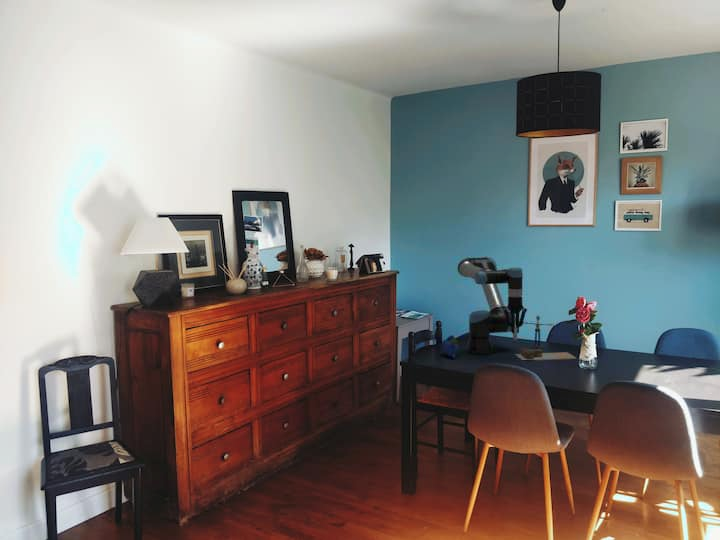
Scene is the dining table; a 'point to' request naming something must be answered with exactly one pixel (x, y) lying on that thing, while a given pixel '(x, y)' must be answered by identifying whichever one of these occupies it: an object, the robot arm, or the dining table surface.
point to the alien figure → (538, 331)
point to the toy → (450, 346)
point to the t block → (531, 353)
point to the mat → (550, 356)
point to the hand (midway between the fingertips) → (515, 338)
